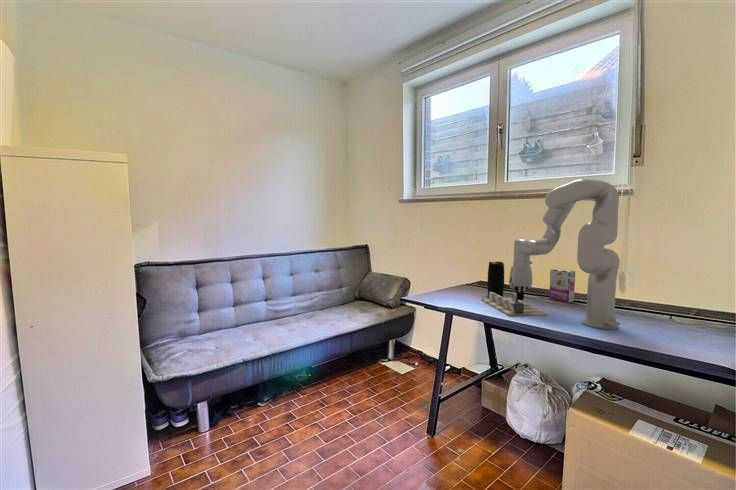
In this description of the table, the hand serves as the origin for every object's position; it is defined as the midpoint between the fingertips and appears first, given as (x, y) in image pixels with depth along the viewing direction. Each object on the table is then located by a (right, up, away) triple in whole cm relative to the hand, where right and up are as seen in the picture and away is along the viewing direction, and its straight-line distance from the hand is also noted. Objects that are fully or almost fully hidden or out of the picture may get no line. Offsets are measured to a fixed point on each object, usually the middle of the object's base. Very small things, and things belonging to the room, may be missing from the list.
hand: (520, 299), depth 173 cm
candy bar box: (+26, -2, +9) cm, 28 cm away
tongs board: (-6, -3, -4) cm, 8 cm away
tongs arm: (-4, -2, -4) cm, 6 cm away
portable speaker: (-6, -2, +18) cm, 19 cm away
